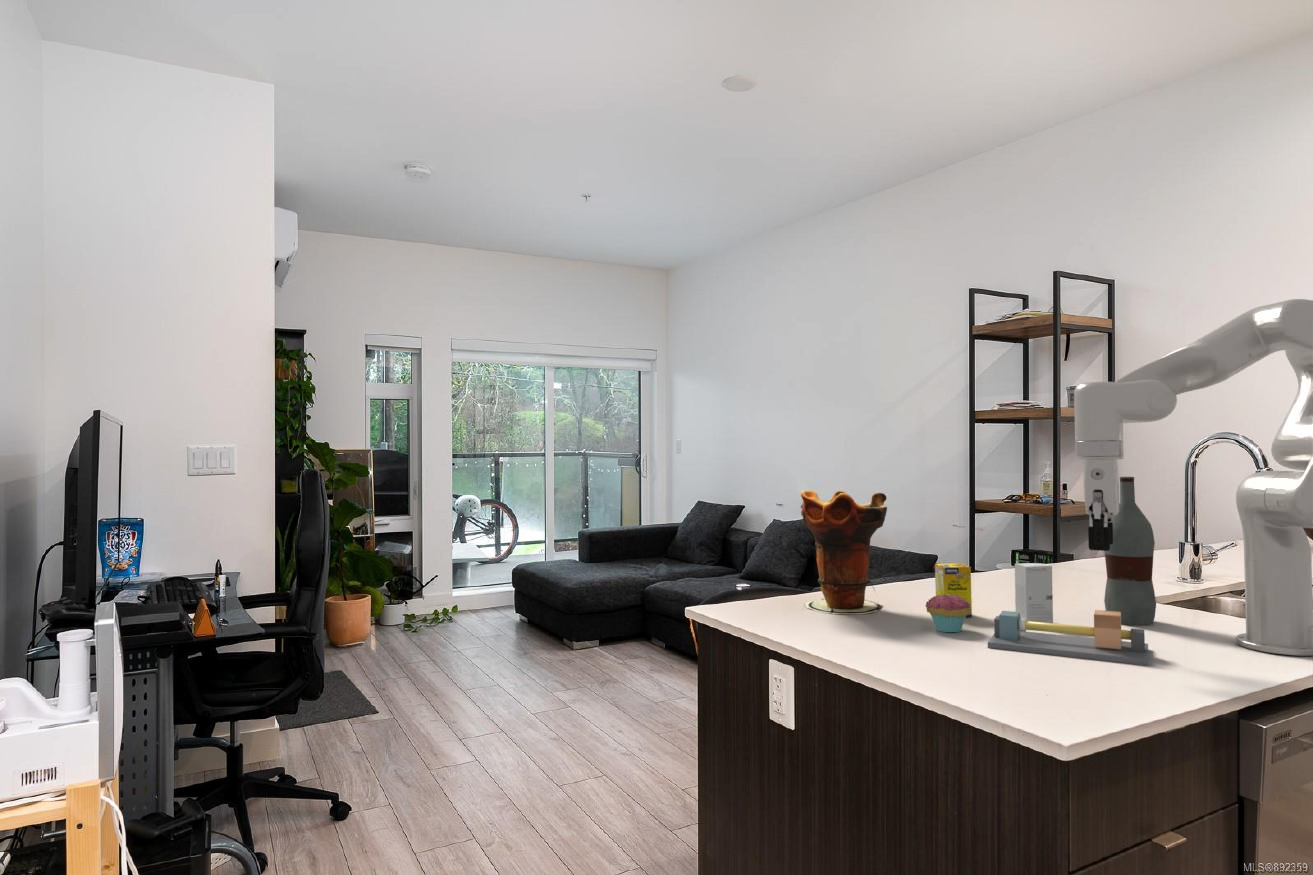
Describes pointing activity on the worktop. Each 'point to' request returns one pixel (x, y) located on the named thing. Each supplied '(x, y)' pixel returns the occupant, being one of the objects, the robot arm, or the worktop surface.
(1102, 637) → the sleeve
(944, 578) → the supplement box
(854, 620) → the worktop surface
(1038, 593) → the skincare box
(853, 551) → the decorative vase
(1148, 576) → the bottle
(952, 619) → the cupcake
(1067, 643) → the cable board
